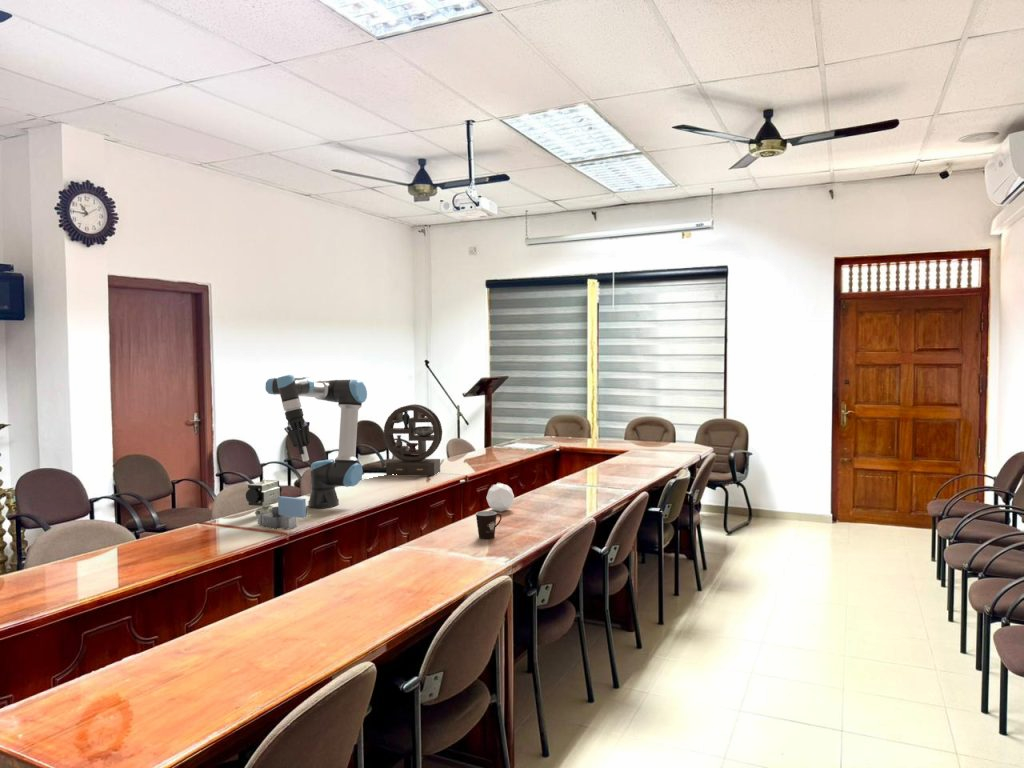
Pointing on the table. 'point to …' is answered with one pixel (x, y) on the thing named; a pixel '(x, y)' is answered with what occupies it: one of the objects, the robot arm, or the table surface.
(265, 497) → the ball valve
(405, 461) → the round curio shelf
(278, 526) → the valve body
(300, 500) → the lever
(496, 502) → the geodesic sphere
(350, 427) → the robot arm
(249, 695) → the table surface
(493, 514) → the coffee mug
